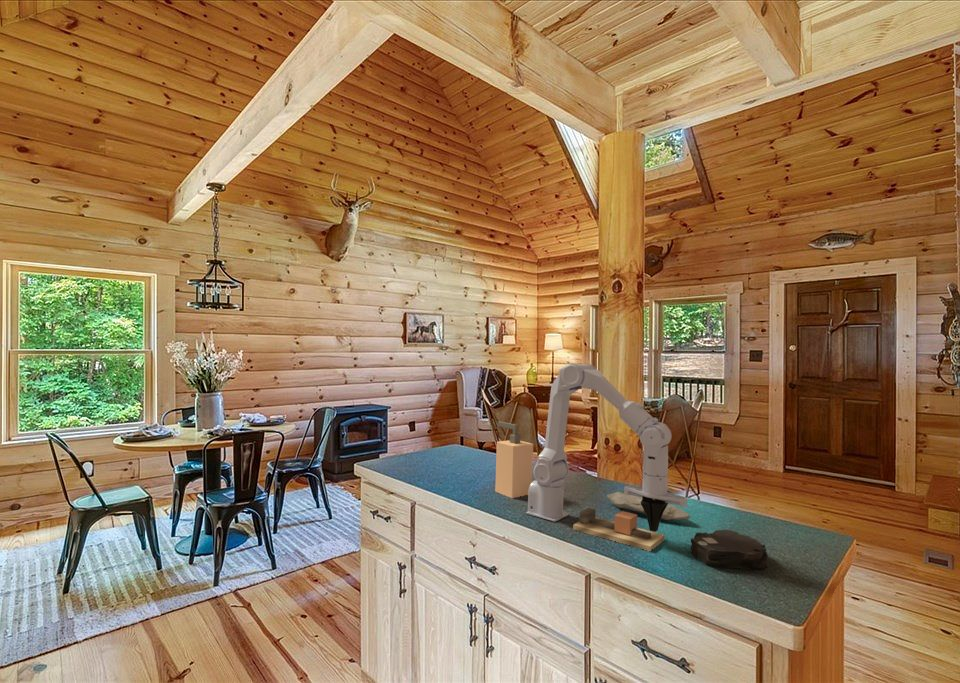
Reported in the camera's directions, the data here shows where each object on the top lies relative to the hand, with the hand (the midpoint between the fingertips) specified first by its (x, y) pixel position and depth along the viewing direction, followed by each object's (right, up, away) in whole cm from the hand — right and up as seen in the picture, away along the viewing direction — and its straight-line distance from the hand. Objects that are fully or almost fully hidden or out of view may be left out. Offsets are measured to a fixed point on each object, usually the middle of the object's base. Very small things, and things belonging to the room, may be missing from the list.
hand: (653, 530), depth 116 cm
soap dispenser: (-33, -4, +41) cm, 52 cm away
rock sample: (+15, -4, -7) cm, 17 cm away
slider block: (-5, -2, +4) cm, 7 cm away
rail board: (-7, -3, +6) cm, 10 cm away
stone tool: (+6, -5, +23) cm, 24 cm away
